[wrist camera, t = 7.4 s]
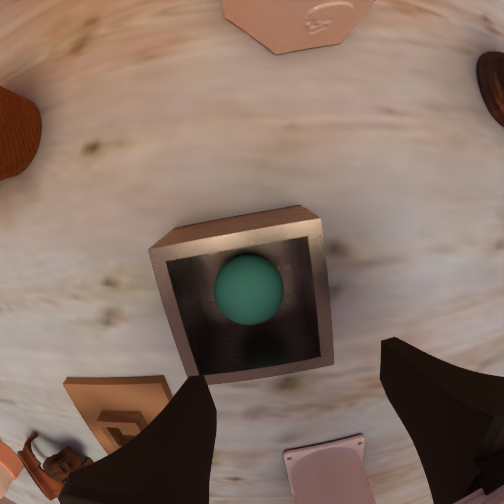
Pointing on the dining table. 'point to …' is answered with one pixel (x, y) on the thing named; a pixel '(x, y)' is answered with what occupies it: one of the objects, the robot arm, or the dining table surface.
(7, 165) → the disposable coffee cup
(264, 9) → the jar
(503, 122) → the mortar and pestle
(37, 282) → the dining table surface
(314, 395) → the dining table surface
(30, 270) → the dining table surface
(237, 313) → the ball
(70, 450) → the pottery mug
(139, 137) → the dining table surface
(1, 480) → the salt shaker
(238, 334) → the open box
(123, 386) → the stand
